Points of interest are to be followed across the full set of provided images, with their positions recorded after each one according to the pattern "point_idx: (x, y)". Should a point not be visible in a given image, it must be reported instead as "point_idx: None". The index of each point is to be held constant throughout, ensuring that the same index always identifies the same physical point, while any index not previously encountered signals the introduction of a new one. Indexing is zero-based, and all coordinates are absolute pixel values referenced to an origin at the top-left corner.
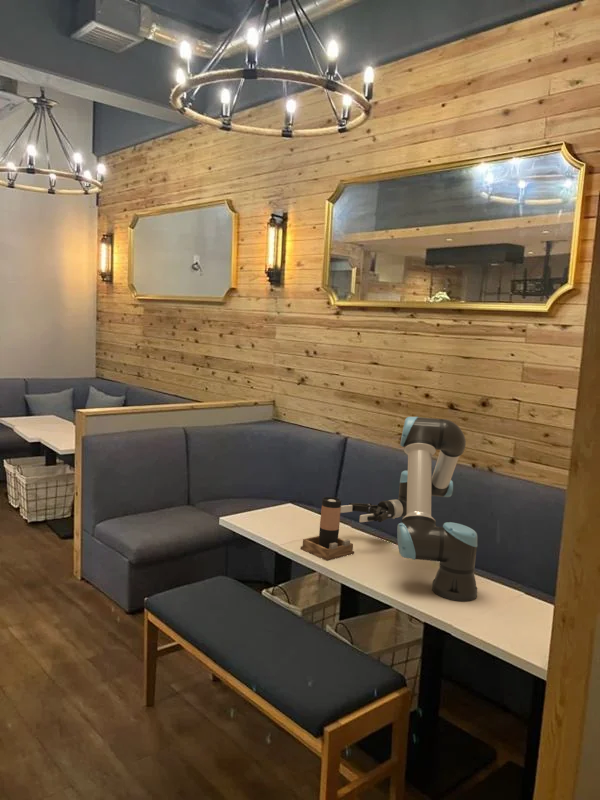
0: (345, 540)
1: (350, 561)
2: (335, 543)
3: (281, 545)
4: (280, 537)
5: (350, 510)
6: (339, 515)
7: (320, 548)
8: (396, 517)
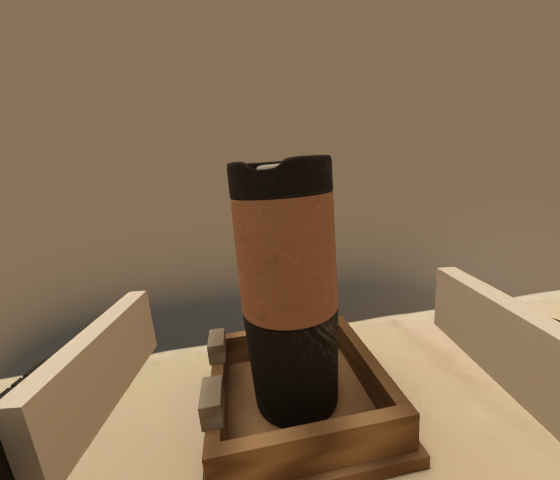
0: (214, 387)
1: (148, 436)
2: (211, 341)
3: (383, 319)
4: None
5: (545, 409)
6: (238, 247)
7: None
8: None
